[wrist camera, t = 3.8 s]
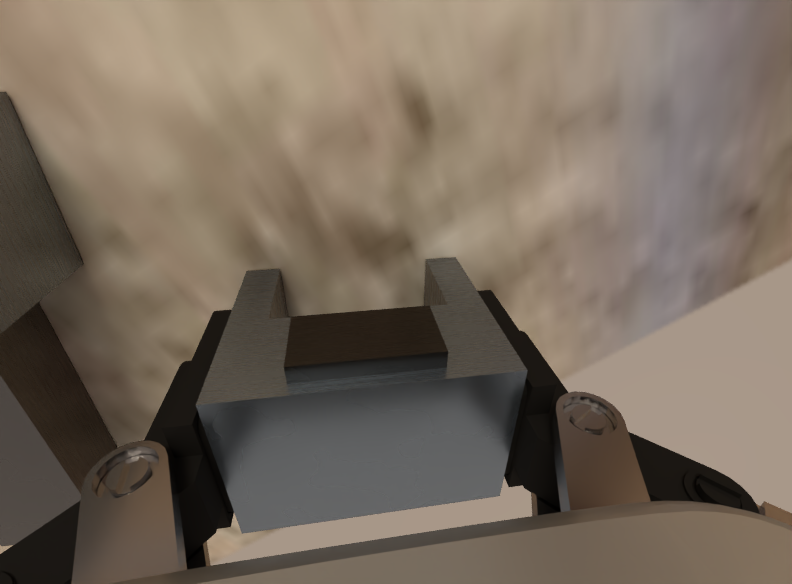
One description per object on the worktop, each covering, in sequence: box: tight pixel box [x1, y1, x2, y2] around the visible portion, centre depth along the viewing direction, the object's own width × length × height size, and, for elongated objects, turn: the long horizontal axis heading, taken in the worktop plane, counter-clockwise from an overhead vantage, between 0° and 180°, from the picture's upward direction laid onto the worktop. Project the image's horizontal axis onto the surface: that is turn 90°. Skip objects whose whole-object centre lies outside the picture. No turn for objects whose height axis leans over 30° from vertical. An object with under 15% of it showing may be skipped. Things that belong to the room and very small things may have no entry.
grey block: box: [196, 257, 528, 533], centre depth 10 cm, size 6×4×5 cm
